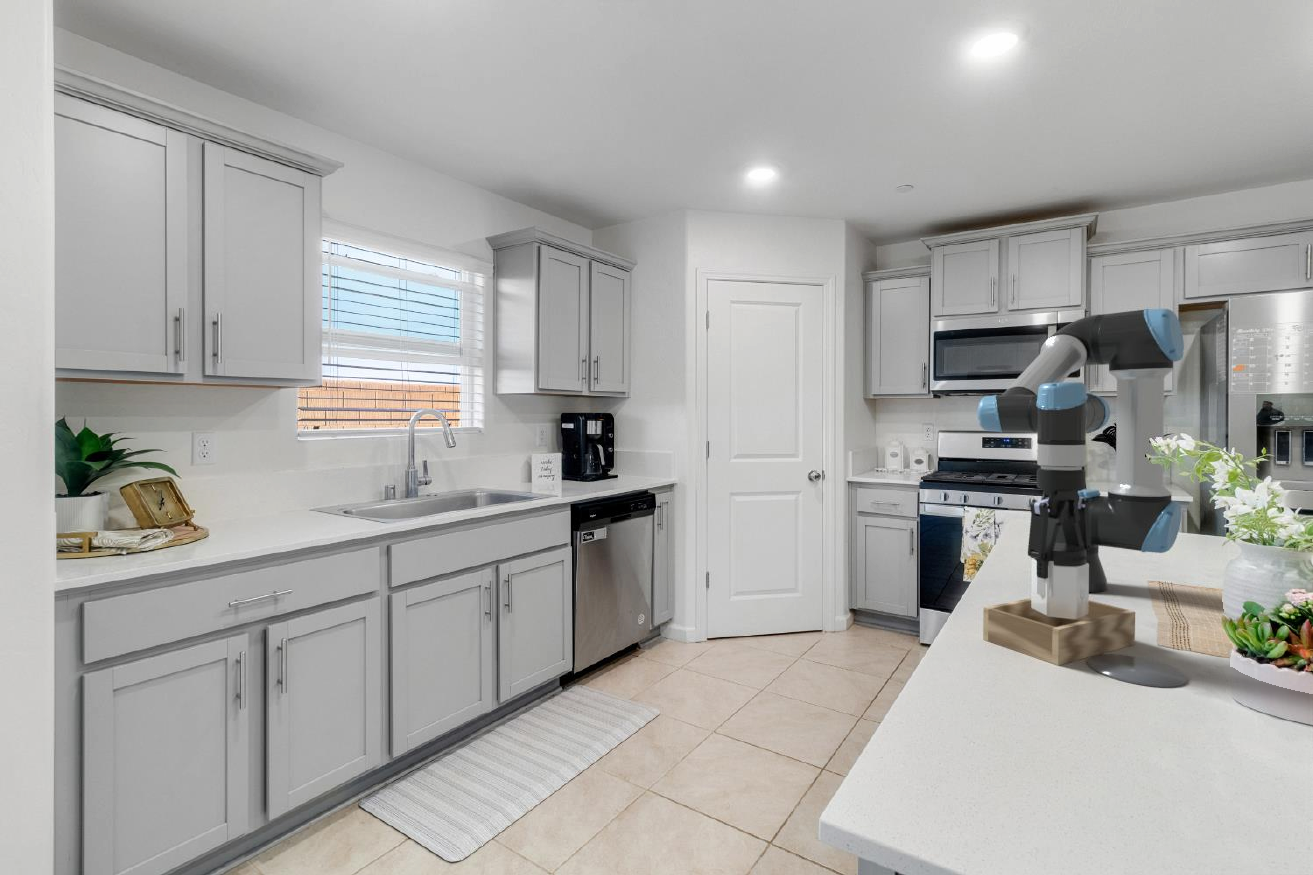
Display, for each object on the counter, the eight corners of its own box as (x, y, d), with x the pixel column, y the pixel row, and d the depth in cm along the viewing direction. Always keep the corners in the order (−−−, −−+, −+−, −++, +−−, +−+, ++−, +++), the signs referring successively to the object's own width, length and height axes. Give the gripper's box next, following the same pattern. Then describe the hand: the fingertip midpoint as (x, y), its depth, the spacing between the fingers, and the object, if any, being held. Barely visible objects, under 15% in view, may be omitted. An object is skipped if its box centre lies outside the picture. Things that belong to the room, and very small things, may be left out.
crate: (1058, 622, 131) (1058, 592, 130) (1134, 644, 118) (1135, 611, 118) (983, 639, 121) (983, 607, 121) (1057, 665, 108) (1058, 629, 108)
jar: (1071, 622, 114) (1072, 554, 113) (1024, 610, 121) (1024, 546, 120) (1095, 612, 119) (1096, 547, 118) (1048, 601, 125) (1048, 540, 125)
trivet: (1116, 651, 115) (1116, 649, 115) (1204, 677, 103) (1204, 675, 103) (1070, 663, 109) (1070, 662, 109) (1158, 693, 97) (1158, 691, 97)
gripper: (1074, 463, 126) (1072, 580, 127) (1004, 469, 117) (1003, 594, 118) (1115, 466, 119) (1114, 589, 120) (1045, 472, 111) (1044, 605, 112)
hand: (1059, 592), depth 119 cm, fingers closed on jar, 7 cm apart
